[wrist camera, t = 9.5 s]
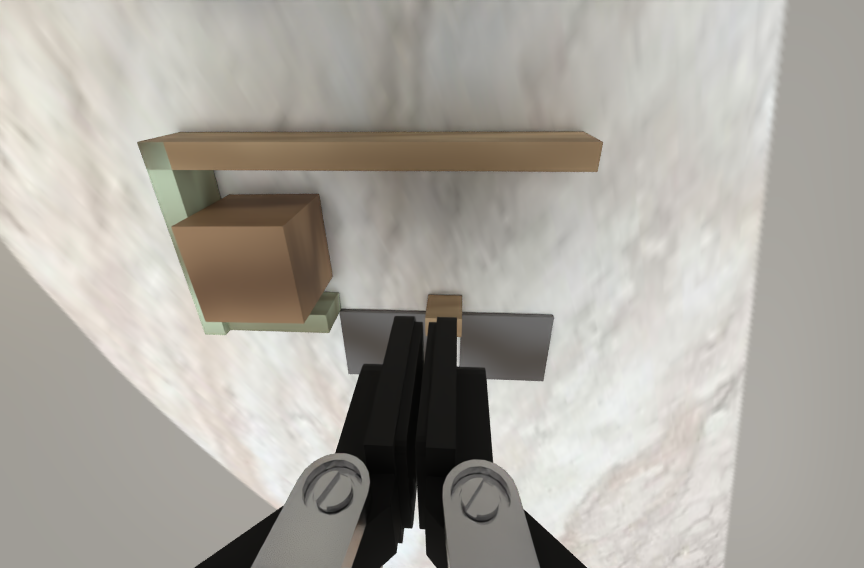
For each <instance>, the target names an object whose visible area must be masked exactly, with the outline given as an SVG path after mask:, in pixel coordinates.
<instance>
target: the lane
mask: <svg viewBox="0 0 864 568" xmlns="http://www.w3.org/2000/svg"><path fill="white" fill-rule="evenodd" d="M137 144H138V146H139V149H140V152H141V155H142V158H143V160H144V163H145V166H146V169H147V172H148V174H149V177H150V180H151V183H152V186H153V189H154V191H155V194H156V197H157V200H158V203H159V205H160V208H161V211H162V214H163V217H164V219H165V222H166V225H167V228H168V231H169V233H170V236H171V239H172V242H173V245H174V248H175V250H176V253H177V256H178V259H179V262H180V264H181V267H182V270H183V273H184V276H185V278H186V281H187V284H188V287H189V290H190V293H191V295H192V298H193V301H194V304H195V307H196V309H197V312H198V315H199V318H200V321H201V323H202V326H203V329H204V332H205V334H208V335H226V334H227V333H228V332H229V331H230V330H250V331H282V332H315V333H329V332H330V330H331V328H332V326H333V324H334V322H335V320H336V318H337V316H338V314H339V312H340V319H341V325H342V332H343V339H344V346H345V352H346V359H347V366H348V373H349V374H360V371H361V368H362V366H363V364H383V361H384V357H385V353H386V349H387V345H388V341H389V337H390V332H391V328H392V324H393V320H394V317H395V316H415V318H416V322H423V334H424V361H425V352H426V343H427V334H428V325H429V322H437V317H457V337H461V343H460V367H484V368H485V369H486V379H499V380H526V381H543V380H544V374H545V368H546V362H547V356H548V350H549V344H550V338H551V332H552V326H553V320H554V317H553V315H537V314H500V313H462V296H459V295H428V302H427V309H426V312H425V311H388V310H351V309H341V307H340V300H339V293H336V292H323V293H322V295H321V297H320V298H319V300H318V302H317V303H316V305H315V306H314V308H313V310H312V311H311V313H310V315H309V316H308V318H307V320H306V321H305V323H304V324H297V323H236V322H206V321H205V319H204V316H203V313H202V310H201V308H200V305H199V302H198V299H197V297H196V294H195V291H194V289H193V286H192V283H191V280H190V278H189V275H188V272H187V269H186V267H185V264H184V261H183V258H182V256H181V253H180V250H179V247H178V245H177V242H176V239H175V236H174V234H173V231H172V228H171V226H173V225H175V224H177V223H178V222H180V221H182V220H184V219H186V218H188V217H189V216H191V215H193V214H195V213H197V212H198V211H200V210H202V209H204V208H206V207H208V206H209V205H211V204H213V203H215V202H217V201H218V200H220V199H221V197H220V194H219V190H218V187H217V183H216V179H215V176H214V172H213V170H307V171H529V172H598V166H599V161H600V156H601V151H602V145H603V142H602V141H600V140H598V139H597V138H595V137H593V136H591V135H589V134H587V133H585V132H583V131H558V132H178V133H174V134H170V135H165V136H161V137H157V138H152V139H148V140H144V141H139V142H137Z"/></svg>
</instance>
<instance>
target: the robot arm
mask: <svg viewBox="0 0 864 568" xmlns="http://www.w3.org/2000/svg"><path fill="white" fill-rule="evenodd" d="M416 490H417V492H418V510H419V527H420V529H425V535H426V555H427V556H428V557H429V559H430V560H431V561H432V563H433V564H434V565H435V566H436V568H587V567H586V566H585V565H584V564H583V563H581V562H580V561H579V560H578V559H577V558H576V557H575V556H574V555H573V554H572V553H571V552H570V551H568V550H567V549H566V548H565V547H564V546H563V545H562V544H561V543H560V542H559V541H558V540H557V539H555V538H554V537H553V536H552V535H551V534H550V533H549V532H548V531H547V530H546V529H545V528H544V527H542V526H541V525H540V524H539V523H538V522H537V521H536V520H535V519H534V518H533V517H532V516H531V515H529V514H528V513H527V512H526V511H525V510H524V509H523V506H522V503H521V499H520V496H519V492H518V489H517V487H516V485H515V483H514V480H513V479H512V478H511V476H510V475H509V474H508V473H507V472H506V471H505V470H504V469H503V468H501V467H500V466H498V465H497V464H495V463H493V455H492V443H491V430H490V417H489V405H488V392H487V379H486V369H485V368H484V367H457V317H437V322H429V325H428V334H427V343H426V352H425V361H424V334H423V322H416V318H415V316H395V317H394V320H393V324H392V328H391V332H390V337H389V341H388V345H387V349H386V353H385V357H384V361H383V364H363V366H362V368H361V371H360V374H359V377H358V381H357V384H356V387H355V390H354V394H353V397H352V400H351V403H350V407H349V410H348V413H347V417H346V420H345V423H344V426H343V430H342V433H341V436H340V439H339V443H338V446H337V449H336V452H335V454H330V455H326V456H324V457H322V458H320V459H318V460H316V461H314V462H313V463H312V464H311V465H309V466H308V467H307V468H306V469H305V470H304V472H303V473H302V474H301V476H300V477H299V479H298V480H297V482H296V484H295V486H294V488H293V490H292V492H291V493H290V495H289V497H288V499H287V501H286V503H285V505H284V506H282V507H281V508H279V509H278V510H276V511H275V512H274V513H272V514H271V515H270V516H268V517H266V518H265V519H264V520H262V521H261V522H259V523H258V524H257V525H255V526H253V527H252V528H251V529H249V530H248V531H246V532H245V533H244V534H242V535H241V536H239V537H238V538H236V539H235V540H233V541H232V542H230V543H229V544H228V545H226V546H225V547H223V548H222V549H220V550H219V551H218V552H216V553H215V554H214V555H212V556H210V557H209V558H207V559H206V560H205V561H203V562H202V563H200V564H199V565H198V566H196V567H195V568H382V567H383V565H384V564H385V563H386V562H387V561H388V560H389V559H390V558H392V557H393V556H394V555H395V554H396V553H397V545H398V543H402V542H403V534H404V528H412V527H413V521H414V511H415V501H416Z"/></svg>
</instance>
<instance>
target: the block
mask: <svg viewBox="0 0 864 568" xmlns="http://www.w3.org/2000/svg"><path fill="white" fill-rule="evenodd" d="M171 228H172V231H173V234H174V236H175V239H176V242H177V245H178V247H179V250H180V253H181V256H182V258H183V261H184V264H185V267H186V269H187V272H188V275H189V278H190V280H191V283H192V286H193V289H194V291H195V294H196V297H197V299H198V302H199V305H200V308H201V310H202V313H203V316H204V319H205V321H206V322H236V323H297V324H304V323H305V321H306V320H307V318H308V316H309V315H310V313H311V311H312V310H313V308H314V306H315V305H316V303H317V302H318V300H319V298H320V297H321V295H322V293H323V292H324V290H325V288H326V287H327V285H328V284H329V282H330V280H331V279H332V277H333V275H332V269H331V263H330V257H329V251H328V245H327V239H326V233H325V227H324V221H323V215H322V209H321V203H320V197H319V194H238V195H228V196H226V197H224V198H222V199H220V200H218V201H217V202H215V203H213V204H211V205H209V206H208V207H206V208H204V209H202V210H200V211H198V212H197V213H195V214H193V215H191V216H189V217H188V218H186V219H184V220H182V221H180V222H178V223H177V224H175V225H173V226H171Z"/></svg>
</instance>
